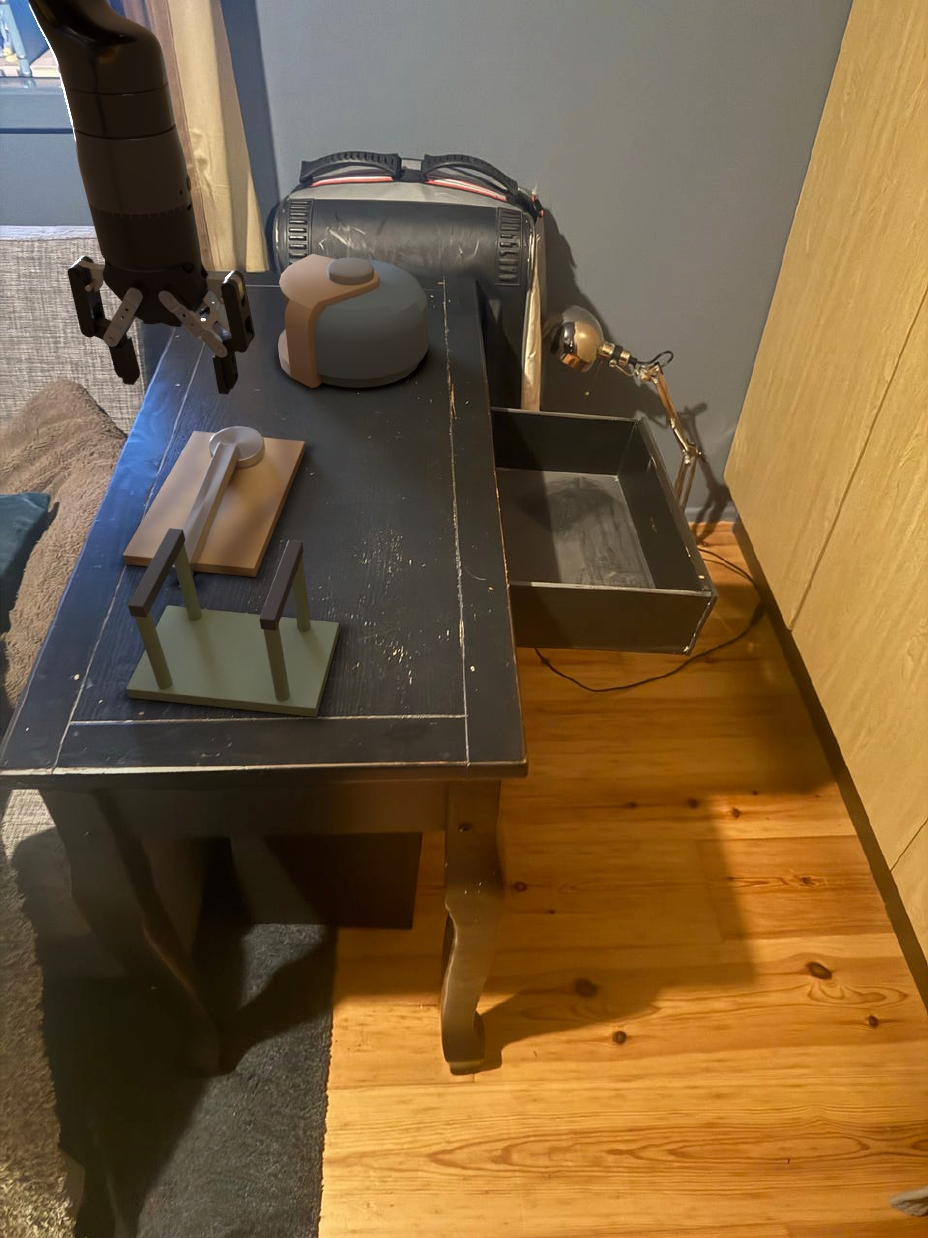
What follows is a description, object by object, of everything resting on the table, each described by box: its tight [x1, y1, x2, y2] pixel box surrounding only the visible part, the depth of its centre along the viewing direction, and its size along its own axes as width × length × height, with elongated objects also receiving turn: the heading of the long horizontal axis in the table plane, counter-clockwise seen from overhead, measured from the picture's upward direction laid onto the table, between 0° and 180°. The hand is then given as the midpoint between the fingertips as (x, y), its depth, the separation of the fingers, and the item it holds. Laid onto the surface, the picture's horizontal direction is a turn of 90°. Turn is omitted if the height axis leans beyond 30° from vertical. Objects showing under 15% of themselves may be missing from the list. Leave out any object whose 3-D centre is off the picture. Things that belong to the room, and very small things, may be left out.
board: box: [122, 430, 307, 578], centre depth 87 cm, size 13×22×1 cm, turn 175°
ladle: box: [168, 425, 265, 579], centre depth 85 cm, size 24×6×3 cm, turn 176°
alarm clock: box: [277, 253, 430, 389], centre depth 107 cm, size 19×20×12 cm
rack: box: [125, 528, 340, 718], centre depth 68 cm, size 16×10×11 cm, turn 85°
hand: (179, 385), depth 73 cm, fingers open, 8 cm apart
